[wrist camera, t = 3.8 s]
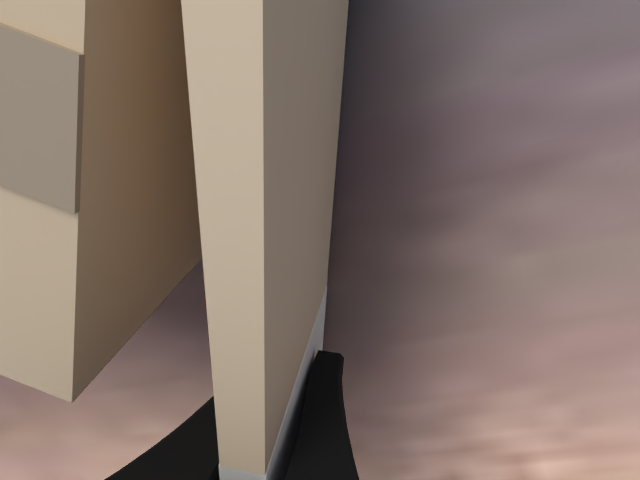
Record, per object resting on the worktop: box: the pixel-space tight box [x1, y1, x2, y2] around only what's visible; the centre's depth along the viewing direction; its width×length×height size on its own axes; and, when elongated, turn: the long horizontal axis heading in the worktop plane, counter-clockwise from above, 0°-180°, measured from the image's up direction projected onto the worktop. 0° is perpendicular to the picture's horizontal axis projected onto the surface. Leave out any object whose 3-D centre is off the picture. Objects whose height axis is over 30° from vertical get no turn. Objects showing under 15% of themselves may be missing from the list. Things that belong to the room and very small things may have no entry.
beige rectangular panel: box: [181, 0, 349, 480], centre depth 8 cm, size 1×14×6 cm, turn 177°
